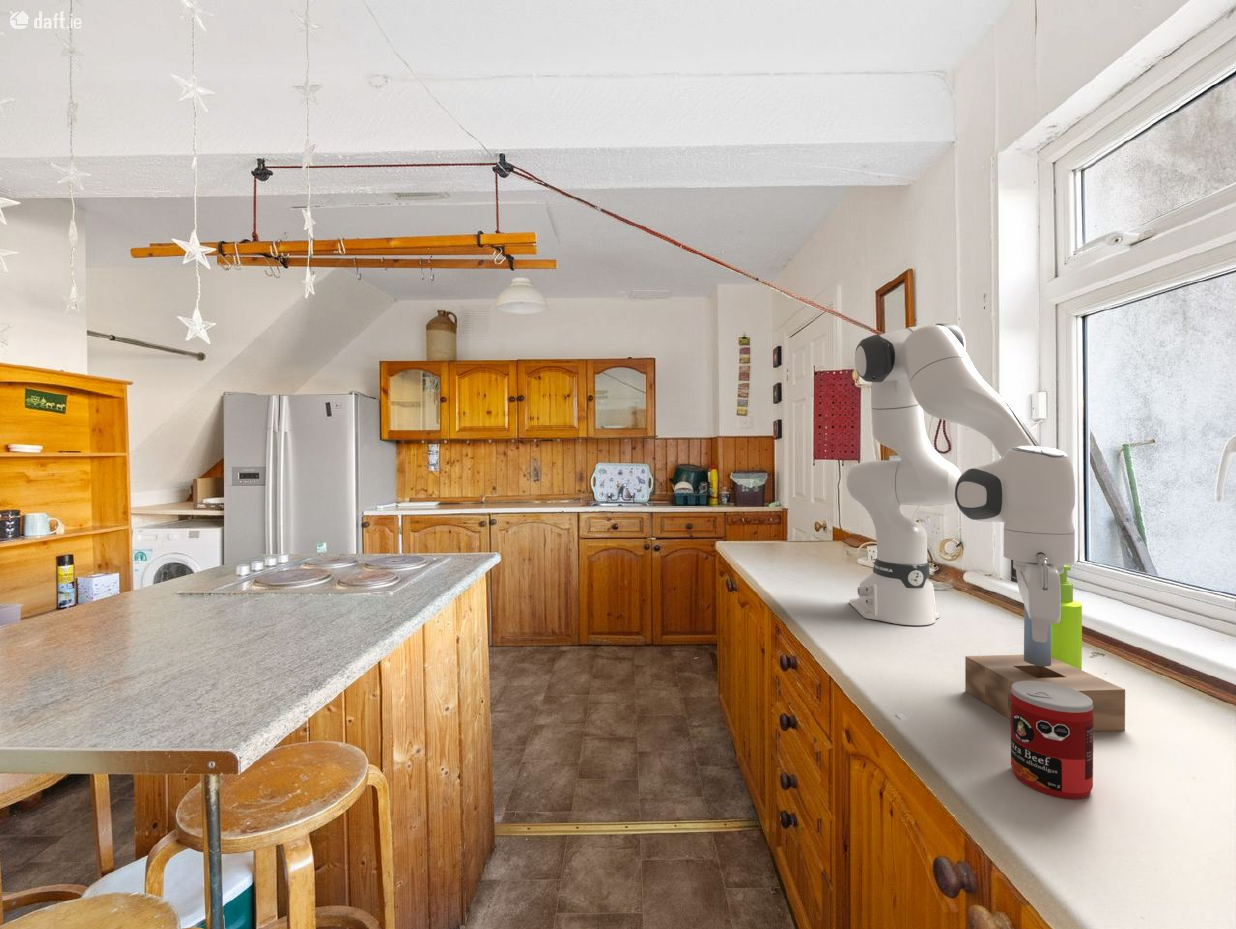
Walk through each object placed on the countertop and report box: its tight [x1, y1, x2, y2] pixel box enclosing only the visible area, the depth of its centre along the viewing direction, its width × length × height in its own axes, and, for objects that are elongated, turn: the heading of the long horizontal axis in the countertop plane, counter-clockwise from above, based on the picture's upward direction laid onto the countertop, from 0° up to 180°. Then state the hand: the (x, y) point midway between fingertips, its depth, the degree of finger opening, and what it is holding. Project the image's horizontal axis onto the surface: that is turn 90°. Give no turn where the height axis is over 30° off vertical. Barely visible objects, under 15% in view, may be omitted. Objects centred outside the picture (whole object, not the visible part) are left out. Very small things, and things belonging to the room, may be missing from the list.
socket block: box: [964, 654, 1126, 732], centre depth 85 cm, size 14×14×6 cm
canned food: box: [1010, 681, 1094, 800], centre depth 66 cm, size 8×8×11 cm
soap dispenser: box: [1051, 564, 1083, 671], centre depth 99 cm, size 6×7×20 cm
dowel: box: [1023, 604, 1052, 666], centre depth 85 cm, size 3×3×11 cm
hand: (1037, 636), depth 85 cm, fingers closed on dowel, 3 cm apart
